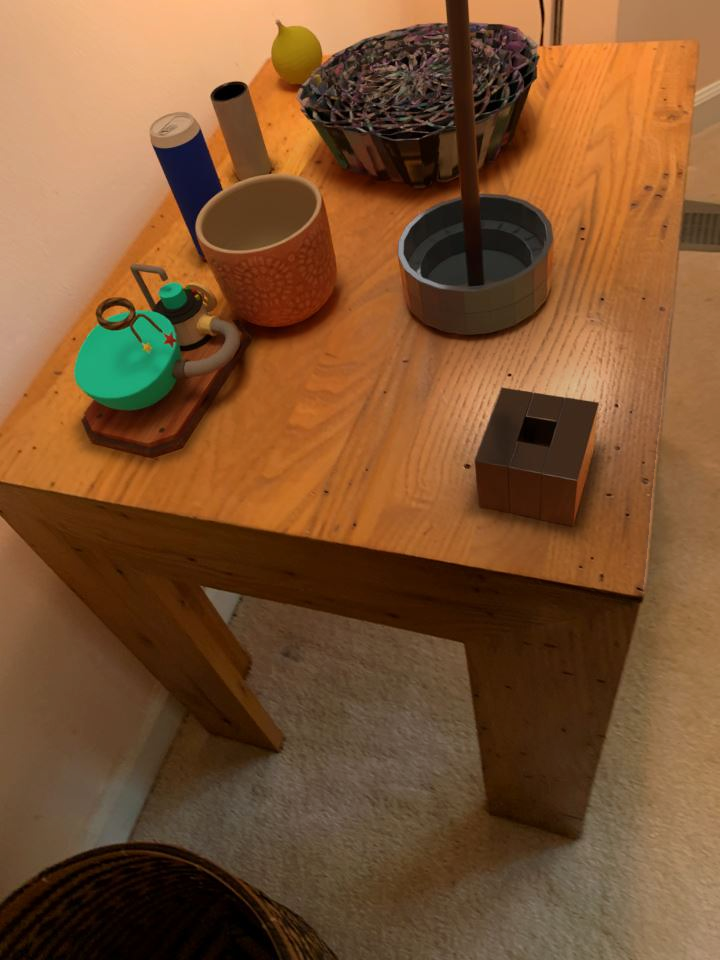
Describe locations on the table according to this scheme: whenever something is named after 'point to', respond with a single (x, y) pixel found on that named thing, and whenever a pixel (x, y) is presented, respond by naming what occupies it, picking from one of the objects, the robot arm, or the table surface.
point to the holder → (536, 455)
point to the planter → (270, 248)
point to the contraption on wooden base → (156, 367)
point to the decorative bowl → (417, 100)
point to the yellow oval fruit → (295, 53)
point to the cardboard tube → (241, 129)
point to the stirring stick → (465, 135)
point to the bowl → (506, 261)
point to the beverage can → (185, 165)
